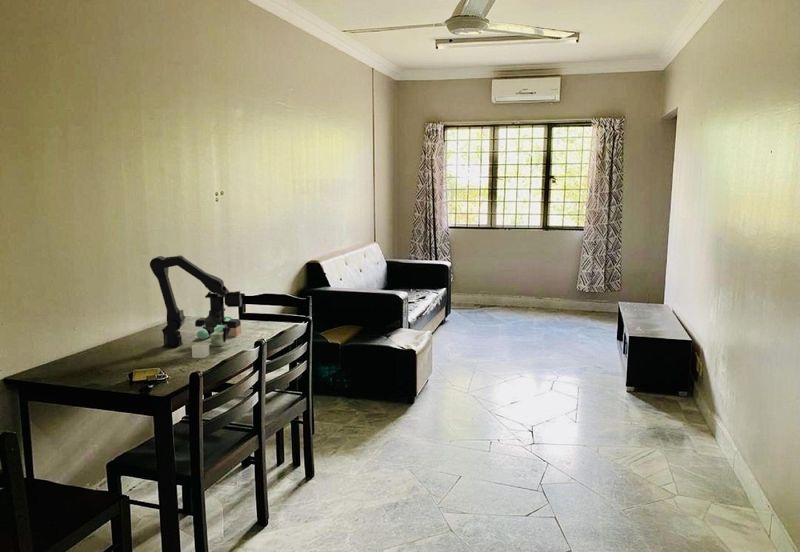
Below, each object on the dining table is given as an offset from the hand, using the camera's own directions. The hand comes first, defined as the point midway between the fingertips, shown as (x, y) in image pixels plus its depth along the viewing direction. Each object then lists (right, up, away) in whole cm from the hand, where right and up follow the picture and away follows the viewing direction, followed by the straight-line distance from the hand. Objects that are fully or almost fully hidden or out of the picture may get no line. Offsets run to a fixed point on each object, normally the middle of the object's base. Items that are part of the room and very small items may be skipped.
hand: (218, 341), depth 261 cm
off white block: (-2, -4, -16) cm, 17 cm away
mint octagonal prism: (-7, +2, +19) cm, 21 cm away
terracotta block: (+2, +1, +16) cm, 16 cm away
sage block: (0, -1, 0) cm, 1 cm away
